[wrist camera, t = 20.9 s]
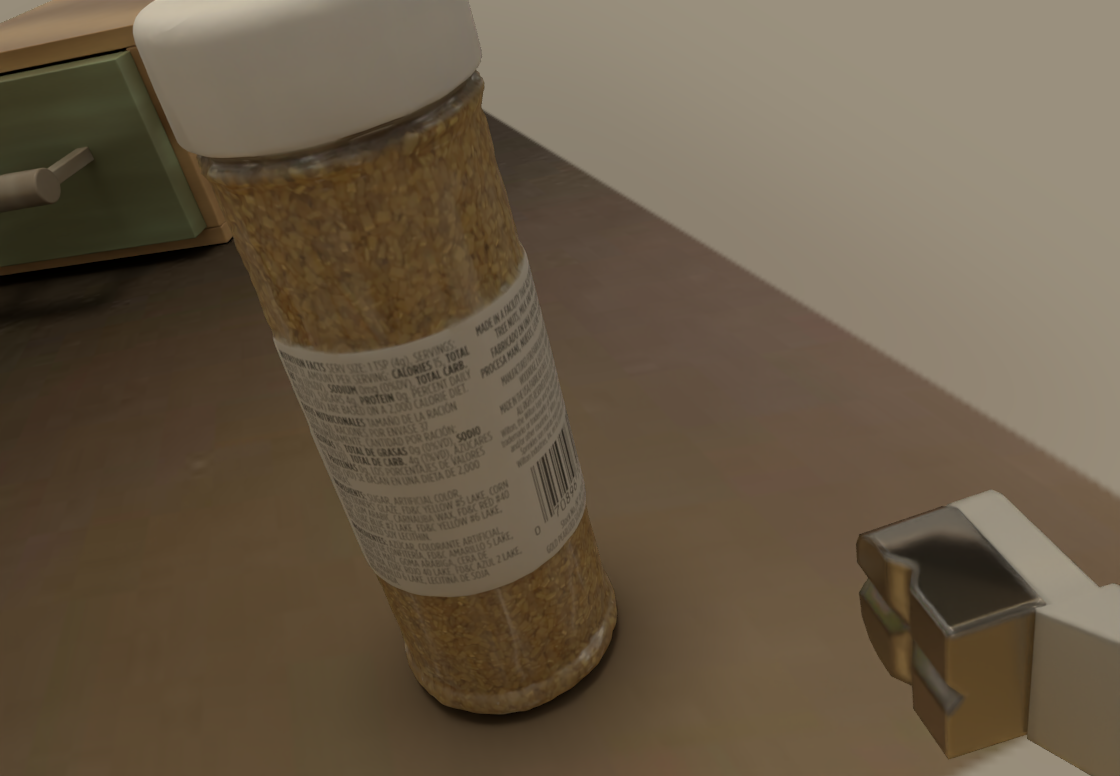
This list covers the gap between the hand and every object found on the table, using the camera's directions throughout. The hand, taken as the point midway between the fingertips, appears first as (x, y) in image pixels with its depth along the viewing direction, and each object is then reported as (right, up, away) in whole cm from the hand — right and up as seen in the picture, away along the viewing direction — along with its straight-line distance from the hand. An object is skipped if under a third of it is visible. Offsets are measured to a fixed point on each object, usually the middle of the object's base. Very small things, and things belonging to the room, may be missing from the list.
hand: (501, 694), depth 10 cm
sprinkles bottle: (0, -2, +10) cm, 11 cm away
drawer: (-20, +12, +37) cm, 44 cm away
